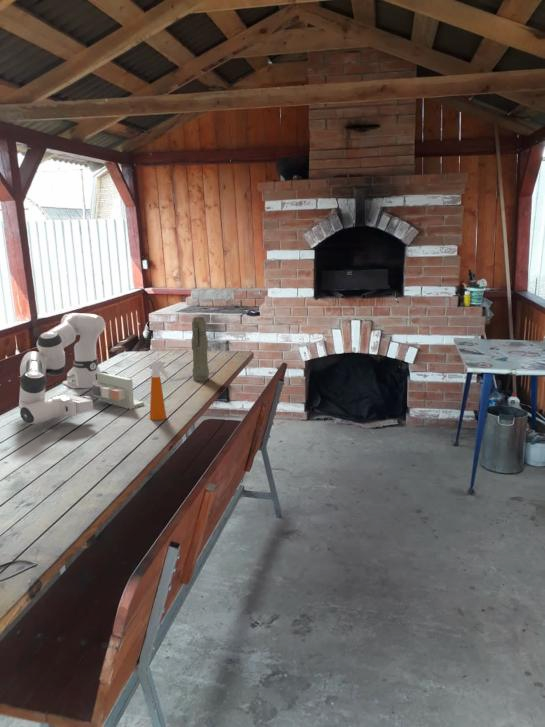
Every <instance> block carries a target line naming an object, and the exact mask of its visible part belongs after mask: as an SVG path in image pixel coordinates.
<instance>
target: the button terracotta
mask: <svg viewBox="0 0 545 727" xmlns="http://www.w3.org/2000/svg"><path fill="white" fill-rule="evenodd" d="M125 398H126V389H125V388H118V389H114V390H111V399H112V400H116V401H119V400H121V399H125Z"/></svg>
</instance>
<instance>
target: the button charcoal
mask: <svg viewBox="0 0 545 727" xmlns="http://www.w3.org/2000/svg"><path fill="white" fill-rule="evenodd" d="M101 387H107V384H104V383H101V384H97V385H92V387H91V389H93V390H92V396H93V395H97V396H100V395H102V390H101Z"/></svg>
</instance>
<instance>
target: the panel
mask: <svg viewBox="0 0 545 727" xmlns="http://www.w3.org/2000/svg"><path fill="white" fill-rule="evenodd" d="M102 372H103V371H100V372H98V373H97V384H101V383H104V384H107V386H111V385H112V386H116V389H118V388H125V389H126V398H125V399H121V400H119V401H116V400H112V399H111V397H110V398H104V397H102V395H100V396H98V397H97V398H98V401H99V400H100V401H99V402H102V401H104V402H103V403H106V402H107V404H109V403H111V404H110V405H113V404H114V405H113V406H117V405H118V406H117V407H120V406H121V407H120V408H124V407H125V408H124V409H128V408H129V410H133V409H136V408H139V407H138V406H140V407H142V405H143V406H145V401H142V400H136V399H135V398H134V388H133V387H134V386H133V379H132V378H129V377H124V376H119V375H114V374H110V373H108V374H106V373H102ZM135 407H136V408H135ZM132 408H133V409H132Z"/></svg>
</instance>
